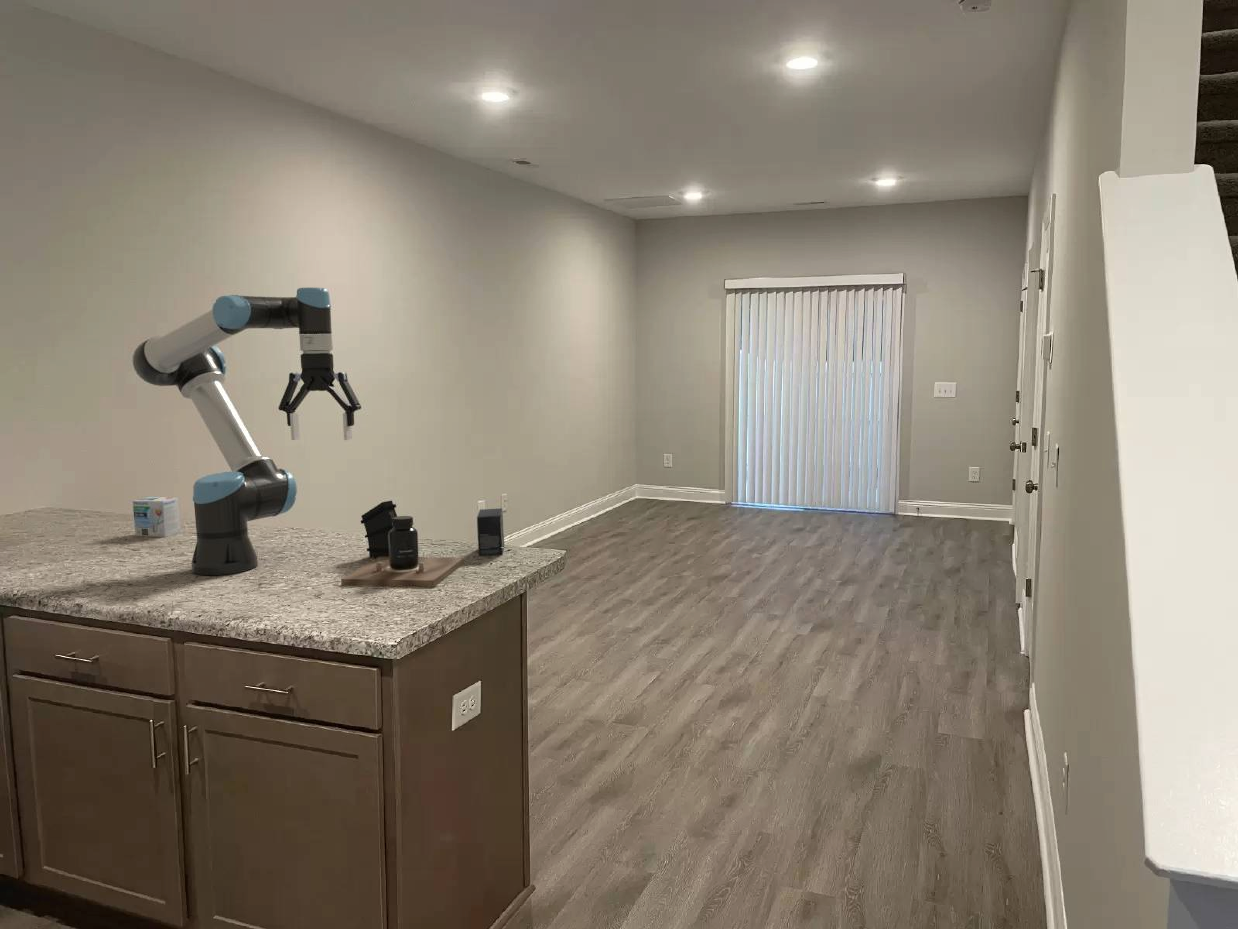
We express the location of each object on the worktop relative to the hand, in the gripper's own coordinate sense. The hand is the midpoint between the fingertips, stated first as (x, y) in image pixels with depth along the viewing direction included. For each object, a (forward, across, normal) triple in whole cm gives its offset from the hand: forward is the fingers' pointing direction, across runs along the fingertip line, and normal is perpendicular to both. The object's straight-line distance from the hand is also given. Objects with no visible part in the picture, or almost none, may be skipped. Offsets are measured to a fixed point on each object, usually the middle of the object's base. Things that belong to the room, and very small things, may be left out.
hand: (321, 439), depth 227 cm
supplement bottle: (+30, +23, -8) cm, 38 cm away
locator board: (+31, +23, -8) cm, 40 cm away
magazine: (+32, +11, +8) cm, 34 cm away
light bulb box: (+32, -70, +34) cm, 84 cm away
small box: (+31, +37, +17) cm, 52 cm away
